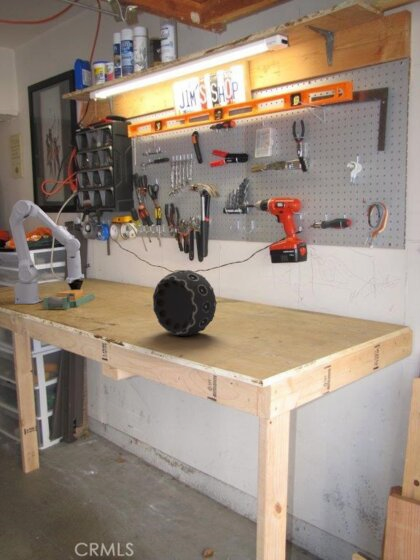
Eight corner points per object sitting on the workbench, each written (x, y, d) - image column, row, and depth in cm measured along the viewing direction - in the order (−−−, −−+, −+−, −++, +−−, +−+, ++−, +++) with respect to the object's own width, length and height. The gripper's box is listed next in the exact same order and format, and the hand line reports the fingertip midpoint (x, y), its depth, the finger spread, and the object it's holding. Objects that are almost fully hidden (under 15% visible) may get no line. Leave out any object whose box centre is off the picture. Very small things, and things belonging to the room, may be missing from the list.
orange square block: (57, 304, 215) (56, 292, 214) (65, 300, 223) (65, 289, 222) (75, 304, 214) (74, 292, 213) (83, 300, 222) (82, 289, 221)
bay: (39, 309, 205) (38, 294, 204) (66, 298, 229) (65, 284, 228) (72, 309, 203) (71, 294, 202) (95, 298, 226) (94, 284, 225)
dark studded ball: (173, 326, 169) (171, 267, 166) (221, 335, 157) (219, 270, 154) (150, 333, 161) (147, 271, 158) (198, 343, 149) (196, 275, 146)
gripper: (76, 268, 214) (78, 300, 216) (89, 264, 228) (91, 294, 230) (60, 268, 215) (62, 300, 217) (74, 264, 229) (76, 294, 231)
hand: (76, 297), depth 224 cm, fingers closed
